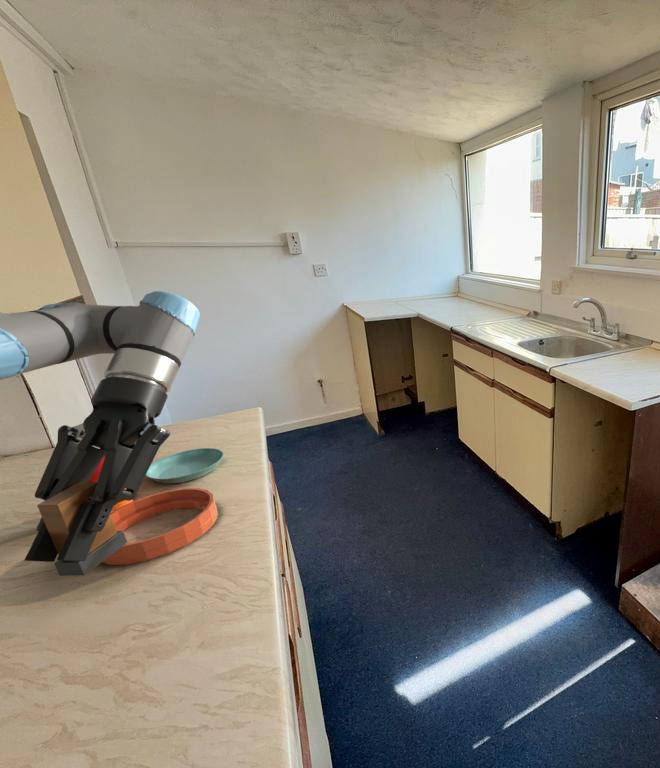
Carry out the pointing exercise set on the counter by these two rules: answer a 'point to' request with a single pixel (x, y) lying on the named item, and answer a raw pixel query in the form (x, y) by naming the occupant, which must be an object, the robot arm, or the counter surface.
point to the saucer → (185, 465)
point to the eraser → (60, 520)
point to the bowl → (171, 539)
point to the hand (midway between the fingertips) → (55, 560)
